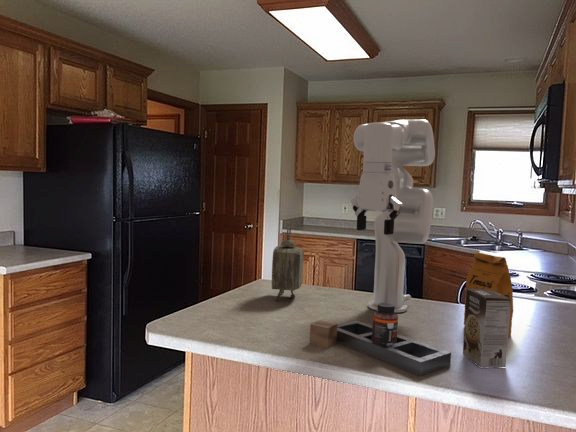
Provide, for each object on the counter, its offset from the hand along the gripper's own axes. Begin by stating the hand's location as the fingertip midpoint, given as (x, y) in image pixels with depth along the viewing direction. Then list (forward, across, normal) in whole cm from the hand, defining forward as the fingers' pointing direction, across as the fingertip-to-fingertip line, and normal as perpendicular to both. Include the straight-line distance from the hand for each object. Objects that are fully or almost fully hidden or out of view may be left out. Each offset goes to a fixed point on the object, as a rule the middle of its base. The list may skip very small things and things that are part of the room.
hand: (374, 232), depth 129 cm
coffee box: (+27, -31, -3) cm, 41 cm away
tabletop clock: (+28, +40, -2) cm, 49 cm away
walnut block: (+26, -2, +20) cm, 33 cm away
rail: (+26, -14, +11) cm, 32 cm away
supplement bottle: (+27, -14, +11) cm, 32 cm away
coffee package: (+28, -20, -27) cm, 44 cm away
